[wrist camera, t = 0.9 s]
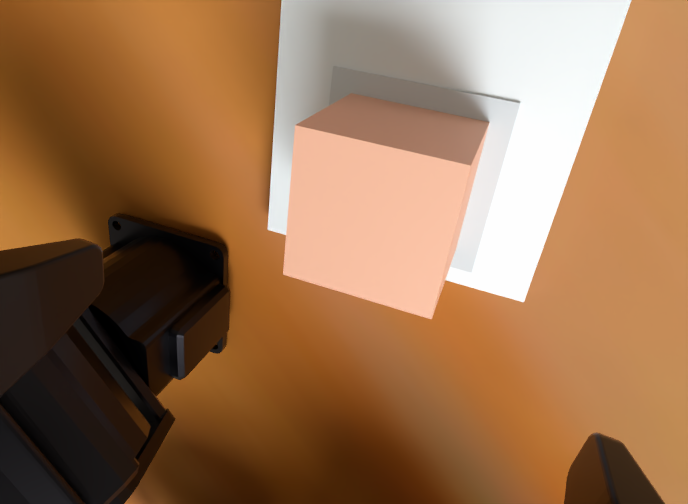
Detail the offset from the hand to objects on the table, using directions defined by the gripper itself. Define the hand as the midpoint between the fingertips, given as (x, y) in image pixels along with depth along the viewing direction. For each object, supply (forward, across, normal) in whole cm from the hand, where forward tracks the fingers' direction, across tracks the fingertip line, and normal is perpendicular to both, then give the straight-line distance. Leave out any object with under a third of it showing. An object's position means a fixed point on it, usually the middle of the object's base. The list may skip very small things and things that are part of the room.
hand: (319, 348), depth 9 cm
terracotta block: (+12, +1, +1) cm, 12 cm away
